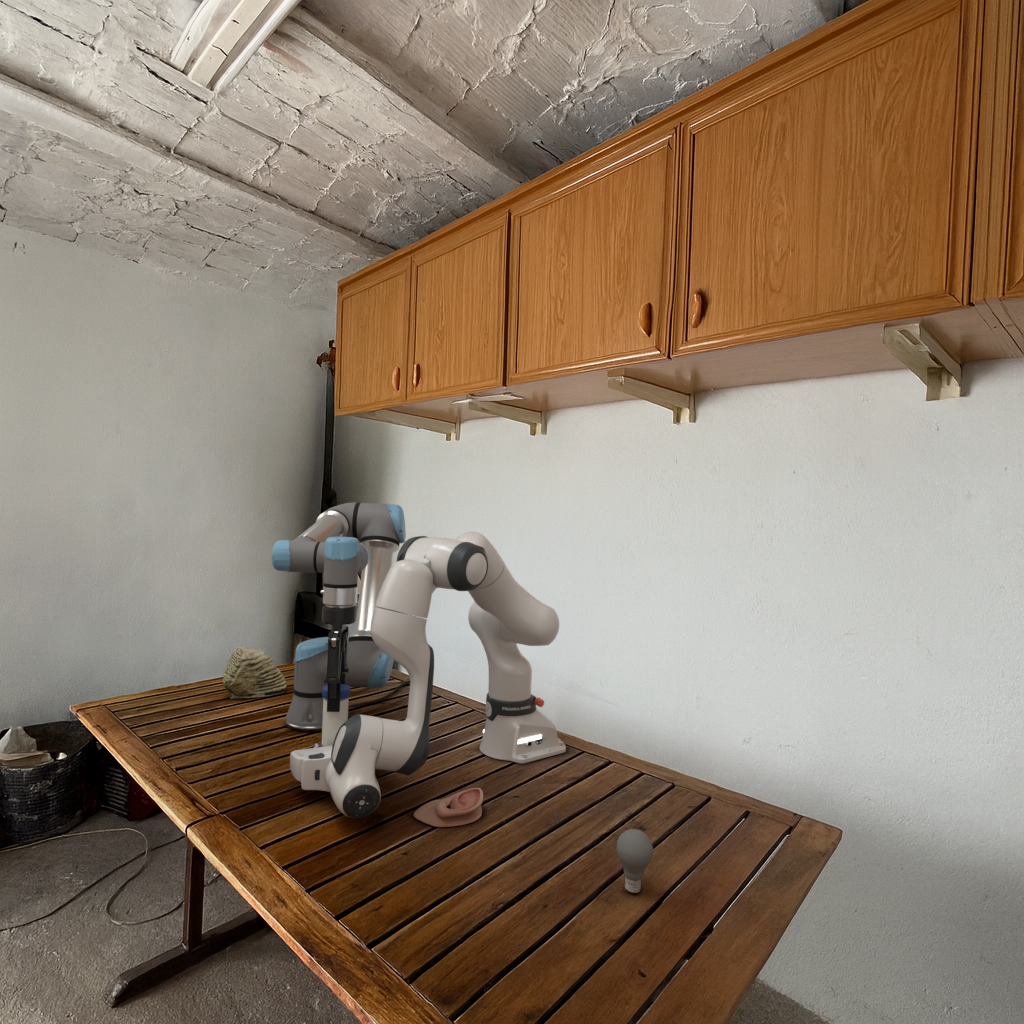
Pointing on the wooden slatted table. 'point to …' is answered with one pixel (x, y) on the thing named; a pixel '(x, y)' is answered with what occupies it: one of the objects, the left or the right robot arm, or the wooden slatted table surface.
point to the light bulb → (634, 857)
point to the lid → (343, 693)
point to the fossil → (252, 674)
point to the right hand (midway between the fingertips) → (333, 744)
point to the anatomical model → (452, 809)
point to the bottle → (333, 721)
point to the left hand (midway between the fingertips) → (335, 706)
